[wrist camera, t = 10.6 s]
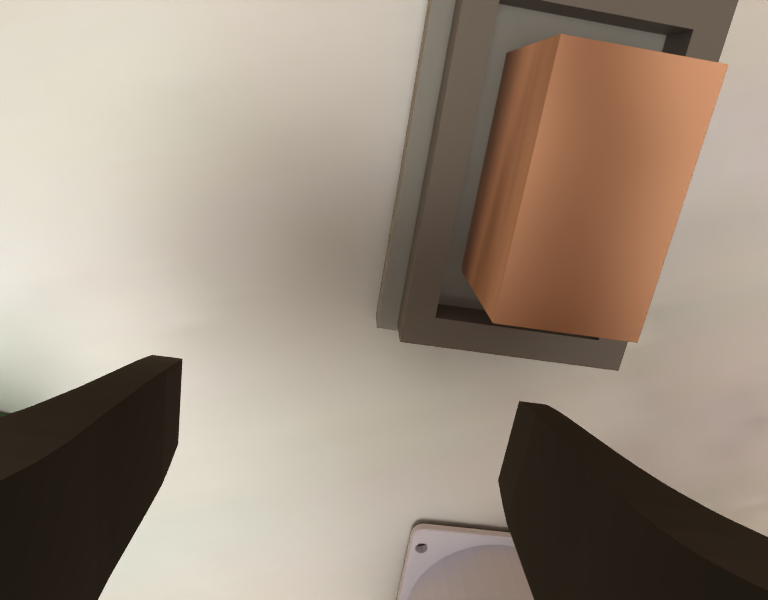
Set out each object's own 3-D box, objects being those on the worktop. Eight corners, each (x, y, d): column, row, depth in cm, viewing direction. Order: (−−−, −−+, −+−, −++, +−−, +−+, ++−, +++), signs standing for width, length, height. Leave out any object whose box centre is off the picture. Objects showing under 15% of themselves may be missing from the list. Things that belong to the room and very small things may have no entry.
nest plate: (604, 346, 22) (635, 378, 20) (376, 315, 21) (378, 344, 19) (708, 8, 18) (765, -7, 16) (436, -45, 17) (448, -70, 15)
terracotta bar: (630, 75, 18) (728, 64, 13) (571, 286, 20) (637, 342, 15) (506, 52, 17) (560, 33, 13) (461, 270, 20) (493, 323, 15)
